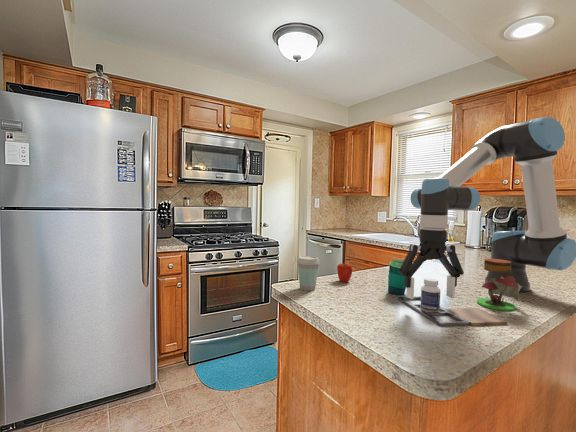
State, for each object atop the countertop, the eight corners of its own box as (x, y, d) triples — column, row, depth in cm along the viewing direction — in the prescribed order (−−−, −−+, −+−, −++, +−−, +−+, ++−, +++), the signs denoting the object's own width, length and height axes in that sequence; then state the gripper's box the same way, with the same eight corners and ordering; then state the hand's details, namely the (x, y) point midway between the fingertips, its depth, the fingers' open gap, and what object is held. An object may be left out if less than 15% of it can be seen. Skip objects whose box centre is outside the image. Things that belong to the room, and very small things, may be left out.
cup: (388, 288, 117) (389, 258, 117) (410, 291, 114) (412, 260, 114) (387, 294, 109) (388, 261, 109) (411, 297, 107) (412, 263, 106)
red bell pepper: (352, 280, 129) (353, 262, 129) (351, 283, 123) (351, 265, 123) (337, 278, 131) (338, 261, 131) (335, 282, 125) (336, 264, 125)
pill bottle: (441, 314, 90) (443, 282, 90) (422, 313, 91) (423, 281, 91) (436, 308, 96) (438, 278, 95) (418, 307, 97) (419, 277, 96)
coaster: (477, 310, 95) (477, 307, 95) (507, 324, 84) (507, 321, 84) (445, 311, 93) (445, 308, 93) (471, 325, 82) (471, 322, 82)
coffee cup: (318, 292, 110) (319, 260, 109) (294, 291, 111) (295, 258, 111) (319, 286, 118) (320, 256, 118) (297, 285, 120) (298, 255, 119)
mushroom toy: (505, 314, 92) (508, 265, 91) (467, 301, 103) (469, 258, 103) (529, 310, 96) (532, 263, 96) (490, 298, 108) (492, 256, 107)
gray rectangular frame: (421, 298, 106) (421, 296, 105) (470, 325, 83) (470, 322, 83) (397, 299, 104) (397, 297, 104) (440, 326, 81) (440, 323, 81)
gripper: (461, 228, 98) (458, 292, 99) (389, 227, 94) (386, 294, 95) (479, 230, 91) (475, 300, 91) (401, 229, 87) (398, 302, 88)
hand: (430, 297), depth 93 cm, fingers open, 13 cm apart
